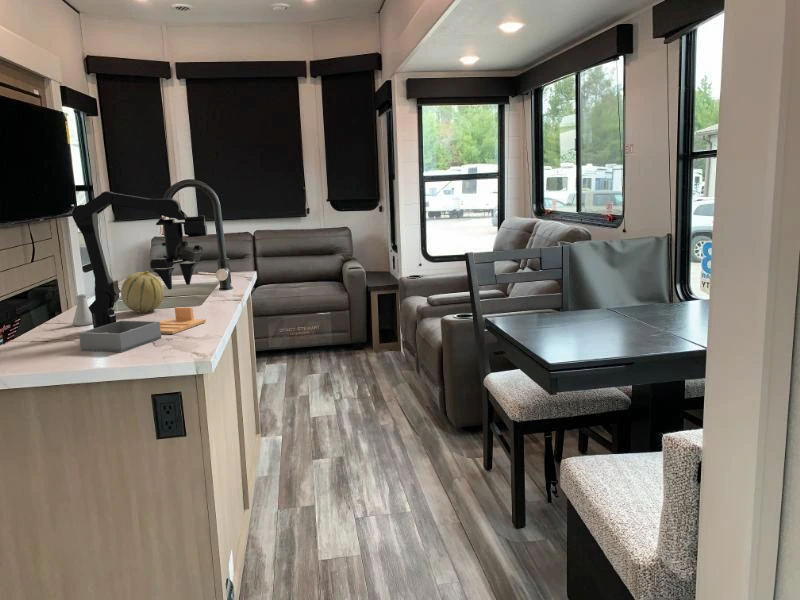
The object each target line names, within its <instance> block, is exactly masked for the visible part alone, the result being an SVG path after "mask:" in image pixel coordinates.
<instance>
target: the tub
mask: <svg viewBox="0 0 800 600" xmlns="http://www.w3.org/2000/svg"><path fill="white" fill-rule="evenodd" d="M78 339H79V345H80V346H79V347H80V351H83V352H84V351H85V352H102V353H103V352H104V353H106V352H107V353H108V352H109V353H125V352H127V351H129V350H133V349H136V348H138V347H140V346H144V345H147V344H149V343H152V342H154V341H155V342H156V341H157V340H160V339H162V333H161V330H160V321H157V320H156V321H154V320H153V321H152V320H151V321H150V320H118V321H116V322H114V323H111V324H107V325H104V326H101V327H97V328H91V329H88V330H87V329H86V330H83V331H80V332H78Z"/></svg>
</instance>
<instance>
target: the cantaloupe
mask: <svg viewBox="0 0 800 600" xmlns="http://www.w3.org/2000/svg"><path fill="white" fill-rule="evenodd" d="M162 282H163V281H161V279H160V277H158V276H156V275H155V274H153V273H150V272H149V270H146V271H139V272H133V273H131V274H130V275H128V276H127V277H125V280H124V281H123V283H122V285H121V289H120V291H121V292H120V297H121V301H122V303H124V305H125V306H126V307H127V308H129V309H130V310H132V311H134V312H136V313H147V311H149V312H151V311H154V310H155V309H158V307H159V306H161V304H162V302H163V300H164V295H165V288H164V285H163V283H162Z"/></svg>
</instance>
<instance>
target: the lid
mask: <svg viewBox="0 0 800 600" xmlns="http://www.w3.org/2000/svg"><path fill="white" fill-rule="evenodd" d="M174 314H175V318H166V319H163V320H160V321H159V322H160V330H161V334H166V335H167V334H172V335H174V334H176V333H179V332H182V331H185V330H187V329H190V328H193V327H195V326H198V325H202V324H204V323H206V322H207V320H206V319H204V318H203V319H201V318H194V310H193V307H186V306H183V307H182V306H181V307H180V306H176V307H174Z"/></svg>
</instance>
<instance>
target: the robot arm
mask: <svg viewBox="0 0 800 600" xmlns="http://www.w3.org/2000/svg"><path fill="white" fill-rule="evenodd" d="M111 205H113V206H117V207H125V208H129V209H130V208H131V209H135V210H142V211H148V212H152V213H154V214H157V215H159V216H161V217H159V219H158V221H157V222H156V223H155V225H156V226H162V229H163V237H164V242H161V246H162V247H164V248H165V255H163V257H157V258H153V259H150V260H149V269H152V270H153V271H154V272H155V273H157V275H158V276H159V278H160V280H162V282H163V283H164V286H166V288H167V289H168V290H172V289H173V280H172V273H173V271H174V269H175V267H173V266H174V265H175V264H179V268H180V271H181V273H182V277H183V279H184V282H185V284H186V285H187V286H190V285H191V280H192V277H193V273H194V270H195V268H196V266H197V265H199V264H200V262H202V256H204V249H203V246H202V245H200V244H197V245H196V244H195V245H194V246H189V245H188V242H187V240H184V236H185V235H186V236H187V237H188V238H203V237H204V238H206V237H208V226H207V224H206V219H205V218H206V217H205V215H198V216H188V215H187V214H186V213H185V212H184V211H183V209H182V206H181V203H180V202H179V200H176V199H173V198H147V197H141V196H135V195H128V194H122V193H116V192H113V191H102V192H101V193H100V194H99V195H97V196H96V197H93V199H91V200H89V201H88V202H86V203H85V204H79V205H76V206H74V208H73V209H72V211H71V216H72V219H73V221H74V223H75V225H76V228H78V230H79V231H80V233H81V235H82V237H83V241H84V243H85V247H86V251H87V254H88V255H87V256H88V258H89V261H90V266H91V269H92V274H93V276H94V297H95V300H94V301H93V302H92V303H91V304H90V305H88V306H89V310H90V312H91V314H92V321H93V324H92V329H94V328H97V327H101V326H104V325H107V324H111V323H114V322H117V316H116V313H115V309H113V308H114V307H115V303H117V302H118V300H119V299H120V294H121V289H120V287H119V281H118V279H116V280H113V279H112V277H111V275H110V273H109V272H110V271H109V269H108V265H107V262H106V258H105V253H104V251H103V247H102V244H101V243H102V242H101V239H100V235H99V216H98V215H100V214H101V213H102V212H103V211H104V210H106V209H107V208H108V207H109V206H111ZM164 217H165V218H169V219H165V218H164ZM175 219H176V220H178V221H176V222H175Z"/></svg>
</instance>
